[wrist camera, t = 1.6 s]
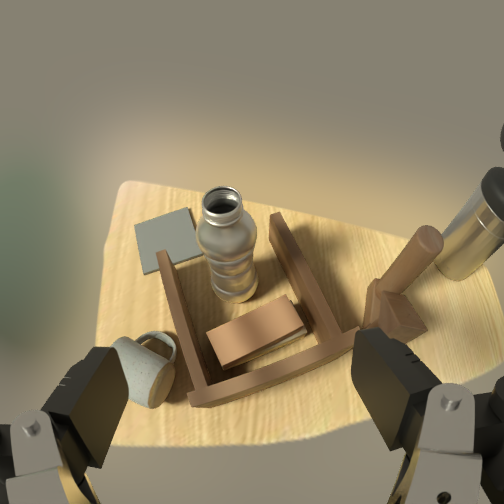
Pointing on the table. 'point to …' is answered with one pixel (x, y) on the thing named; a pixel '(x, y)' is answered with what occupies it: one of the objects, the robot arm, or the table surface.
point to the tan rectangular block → (257, 333)
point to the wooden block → (402, 288)
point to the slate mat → (167, 239)
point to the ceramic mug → (146, 369)
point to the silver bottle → (228, 244)
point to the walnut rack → (275, 373)
